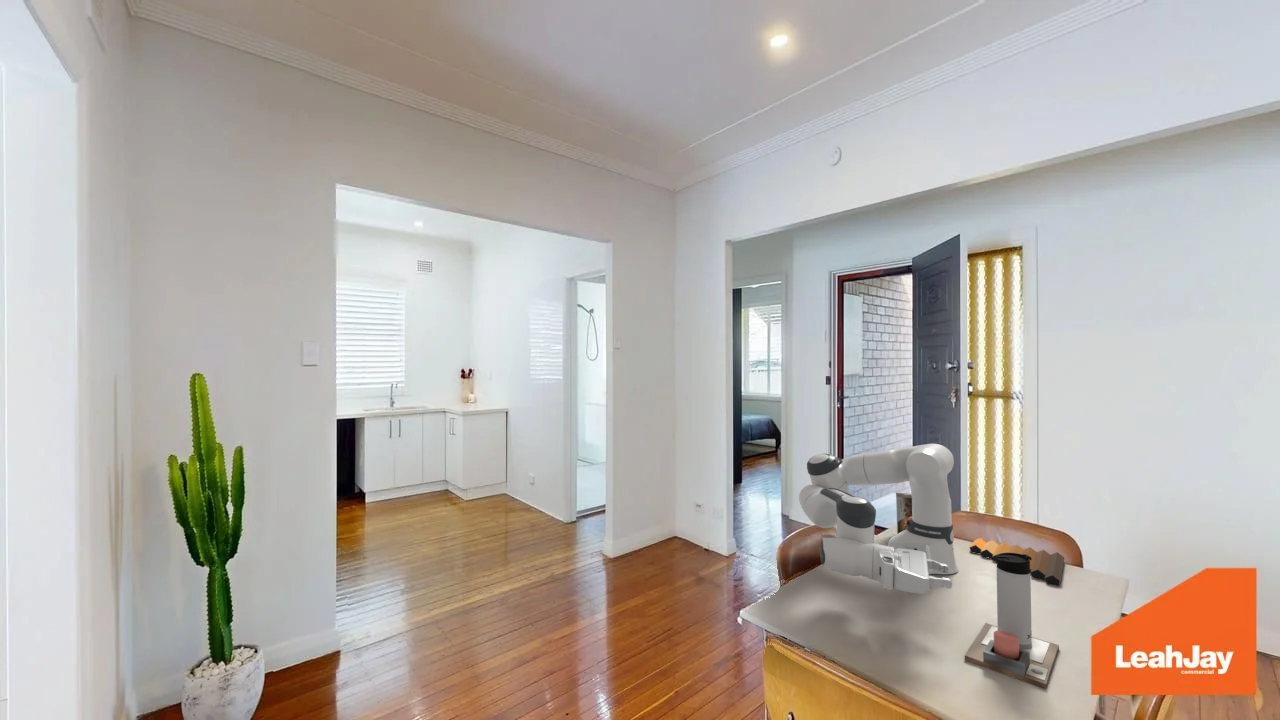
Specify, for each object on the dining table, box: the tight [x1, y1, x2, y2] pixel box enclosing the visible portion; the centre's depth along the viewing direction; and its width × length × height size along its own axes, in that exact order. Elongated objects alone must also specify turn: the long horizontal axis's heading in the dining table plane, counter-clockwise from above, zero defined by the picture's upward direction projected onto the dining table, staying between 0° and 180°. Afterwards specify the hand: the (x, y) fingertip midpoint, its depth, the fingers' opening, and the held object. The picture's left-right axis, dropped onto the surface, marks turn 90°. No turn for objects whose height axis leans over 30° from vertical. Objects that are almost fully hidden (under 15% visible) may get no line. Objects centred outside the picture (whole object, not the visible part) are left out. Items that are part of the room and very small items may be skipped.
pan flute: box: [969, 537, 1065, 587], centre depth 164 cm, size 25×3×25 cm
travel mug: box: [996, 553, 1033, 649], centre depth 115 cm, size 6×7×20 cm
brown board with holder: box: [964, 622, 1060, 690], centre depth 112 cm, size 14×20×3 cm
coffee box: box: [895, 492, 912, 535], centre depth 189 cm, size 9×6×16 cm
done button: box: [994, 631, 1019, 660], centre depth 107 cm, size 4×4×4 cm
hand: (949, 576), depth 121 cm, fingers open, 8 cm apart
